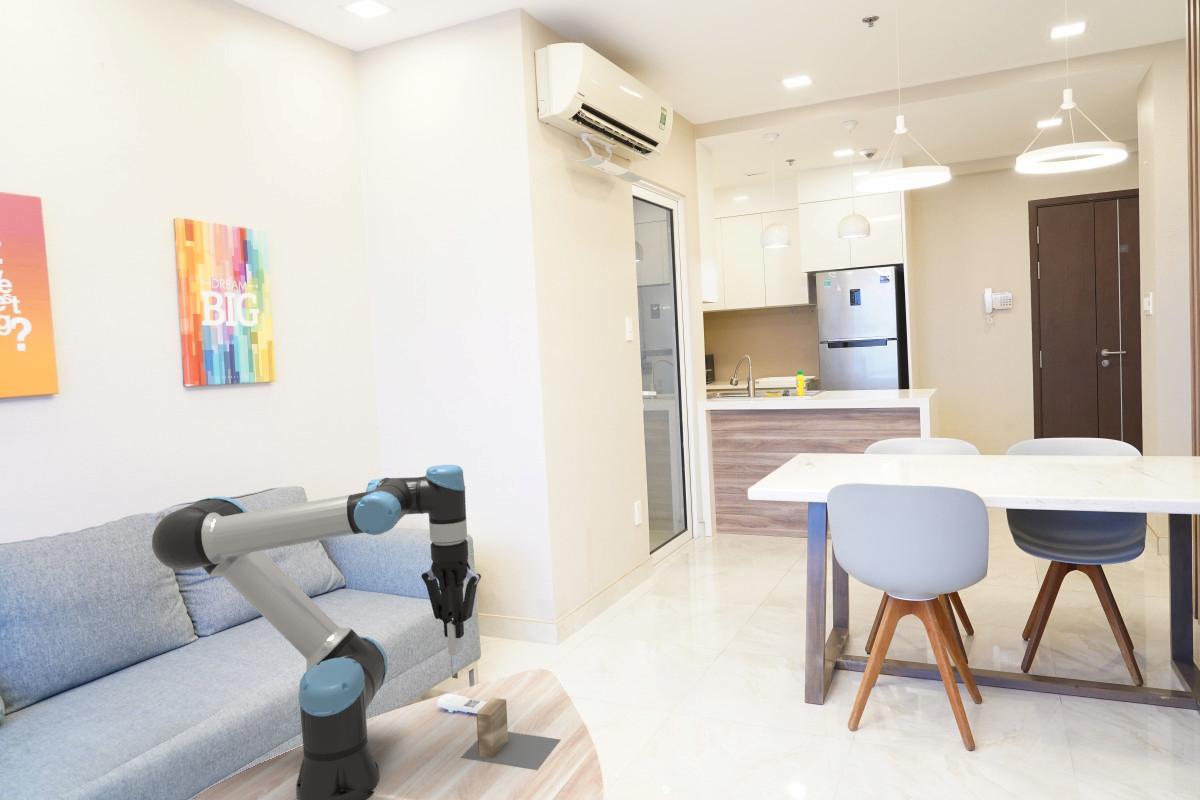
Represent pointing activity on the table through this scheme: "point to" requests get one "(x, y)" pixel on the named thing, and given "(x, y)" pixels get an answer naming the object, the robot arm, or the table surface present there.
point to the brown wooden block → (492, 727)
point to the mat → (518, 751)
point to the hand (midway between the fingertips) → (455, 652)
